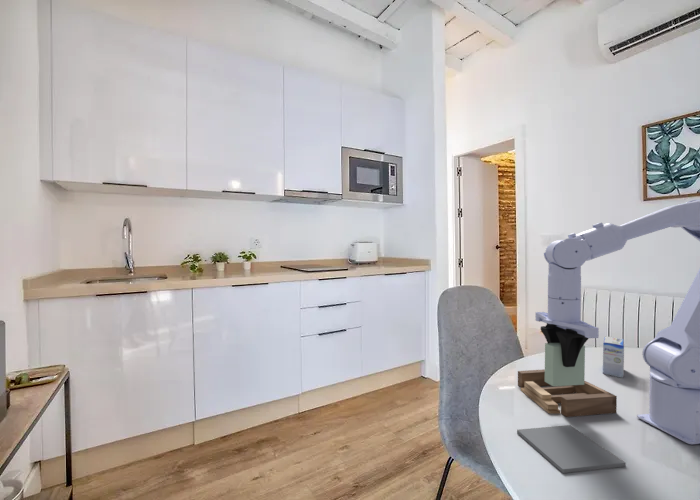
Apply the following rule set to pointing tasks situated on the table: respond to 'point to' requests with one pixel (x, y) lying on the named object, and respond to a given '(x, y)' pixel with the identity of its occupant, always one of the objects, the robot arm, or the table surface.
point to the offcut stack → (540, 397)
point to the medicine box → (613, 356)
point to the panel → (563, 367)
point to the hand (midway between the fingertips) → (563, 363)
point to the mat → (570, 449)
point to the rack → (574, 395)
